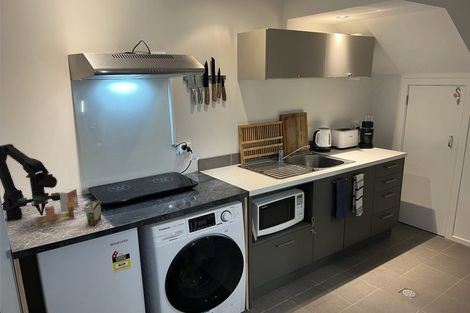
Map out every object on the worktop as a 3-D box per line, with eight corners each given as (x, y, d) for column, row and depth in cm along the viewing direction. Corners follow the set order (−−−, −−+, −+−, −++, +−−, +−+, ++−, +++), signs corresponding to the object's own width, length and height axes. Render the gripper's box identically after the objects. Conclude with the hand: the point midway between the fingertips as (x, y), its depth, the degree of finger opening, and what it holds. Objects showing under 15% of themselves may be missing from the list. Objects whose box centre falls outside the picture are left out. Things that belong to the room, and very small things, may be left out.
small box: (69, 210, 191) (67, 193, 189) (60, 210, 192) (58, 192, 190) (78, 205, 199) (76, 188, 197) (70, 205, 200) (68, 188, 198)
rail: (35, 227, 171) (33, 213, 169) (34, 221, 177) (32, 208, 176) (74, 218, 180) (72, 206, 178) (72, 214, 187) (70, 202, 185)
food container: (90, 218, 180) (88, 200, 178) (102, 218, 181) (100, 200, 178) (82, 228, 168) (79, 209, 166) (94, 227, 169) (92, 208, 166)
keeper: (46, 221, 174) (45, 211, 173) (46, 217, 179) (44, 207, 178) (55, 219, 176) (54, 209, 175) (54, 215, 181) (53, 205, 180)
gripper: (15, 193, 160) (20, 224, 163) (59, 187, 169) (63, 216, 173) (15, 187, 169) (20, 217, 173) (57, 181, 179) (61, 209, 182)
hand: (41, 215), depth 175 cm, fingers closed
